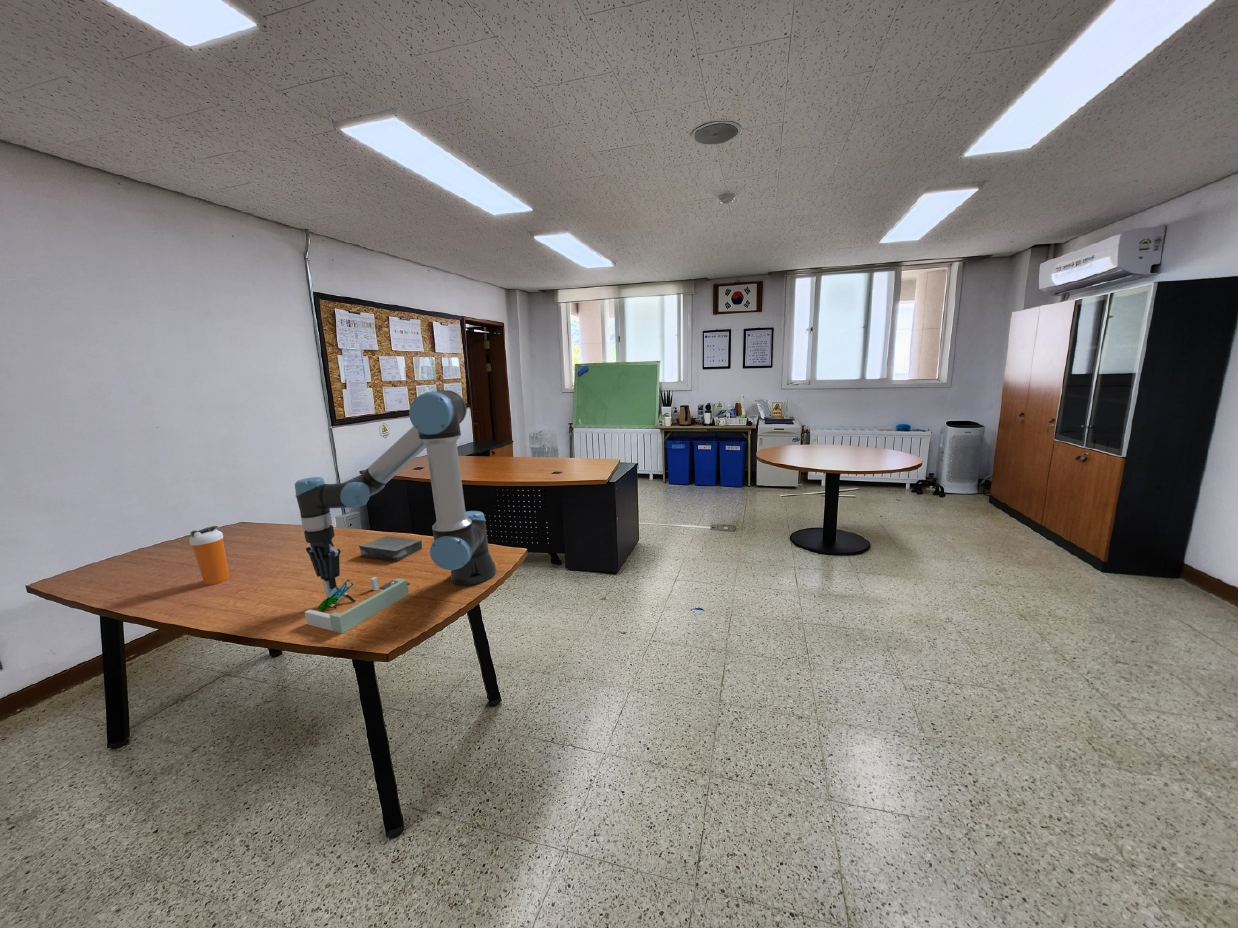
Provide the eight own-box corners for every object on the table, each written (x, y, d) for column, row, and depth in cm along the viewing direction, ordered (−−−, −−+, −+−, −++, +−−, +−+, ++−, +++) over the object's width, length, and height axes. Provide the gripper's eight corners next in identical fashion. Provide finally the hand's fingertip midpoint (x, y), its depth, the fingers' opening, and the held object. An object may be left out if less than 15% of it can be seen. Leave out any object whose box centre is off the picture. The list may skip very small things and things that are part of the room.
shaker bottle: (238, 577, 164) (225, 526, 159) (208, 588, 156) (194, 534, 152) (225, 573, 167) (213, 523, 163) (195, 584, 159) (181, 532, 155)
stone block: (397, 562, 170) (395, 550, 169) (360, 557, 177) (358, 546, 176) (424, 549, 182) (422, 537, 181) (388, 545, 189) (386, 534, 188)
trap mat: (410, 583, 151) (410, 583, 151) (397, 591, 146) (397, 590, 146) (393, 580, 154) (393, 579, 154) (379, 588, 149) (379, 587, 149)
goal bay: (408, 594, 143) (406, 580, 142) (342, 633, 123) (339, 617, 122) (399, 592, 145) (397, 578, 144) (332, 630, 124) (329, 614, 123)
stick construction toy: (347, 586, 146) (348, 573, 142) (364, 598, 146) (366, 585, 141) (314, 613, 136) (314, 600, 132) (332, 626, 136) (333, 613, 132)
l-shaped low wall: (399, 592, 145) (397, 581, 144) (332, 630, 124) (330, 618, 123) (376, 587, 149) (374, 576, 148) (307, 624, 128) (304, 611, 128)
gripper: (344, 525, 136) (357, 594, 141) (316, 521, 141) (330, 588, 146) (320, 533, 130) (335, 606, 135) (292, 529, 135) (307, 599, 139)
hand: (332, 597), depth 140 cm, fingers closed
